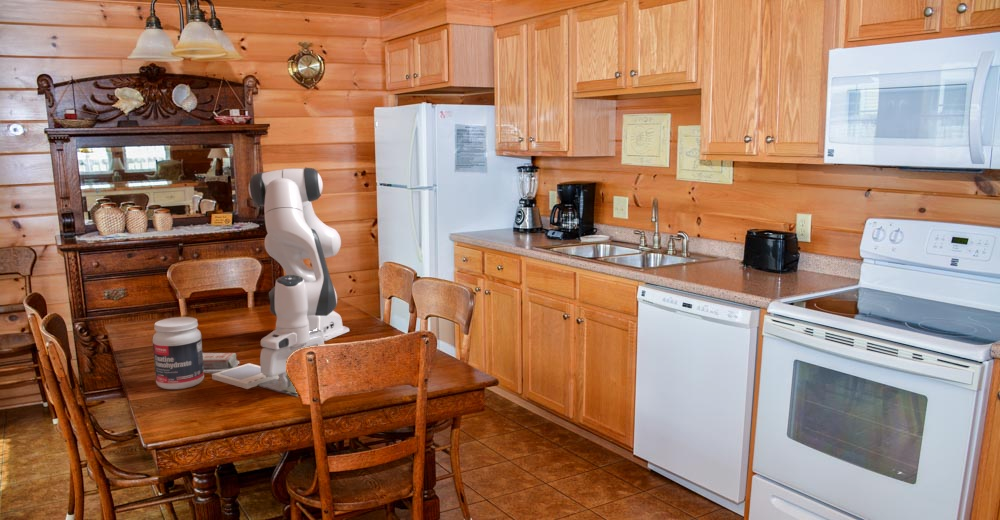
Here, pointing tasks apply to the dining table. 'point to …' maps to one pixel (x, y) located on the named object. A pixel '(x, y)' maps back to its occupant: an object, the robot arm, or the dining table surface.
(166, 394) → the dining table surface
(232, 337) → the dining table surface
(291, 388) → the pale green cube
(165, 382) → the supplement tub
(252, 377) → the board
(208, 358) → the packaged product
